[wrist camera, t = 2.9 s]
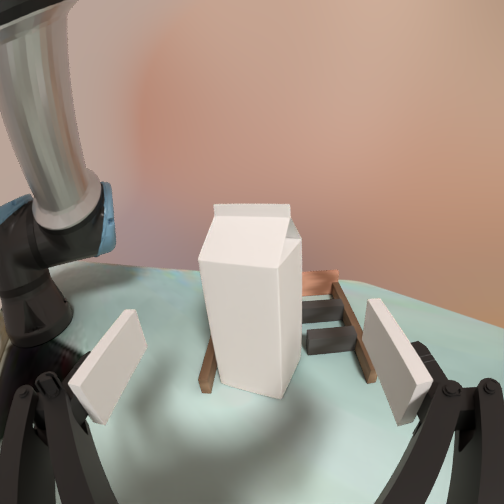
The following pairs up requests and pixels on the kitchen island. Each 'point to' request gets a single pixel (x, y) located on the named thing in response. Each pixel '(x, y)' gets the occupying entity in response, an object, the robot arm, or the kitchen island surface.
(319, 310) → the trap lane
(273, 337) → the milk carton
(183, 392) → the kitchen island surface
